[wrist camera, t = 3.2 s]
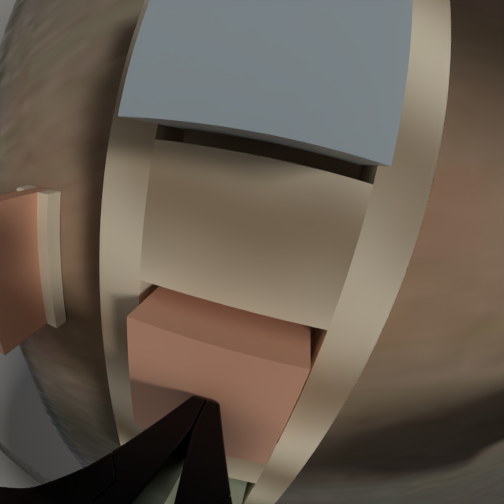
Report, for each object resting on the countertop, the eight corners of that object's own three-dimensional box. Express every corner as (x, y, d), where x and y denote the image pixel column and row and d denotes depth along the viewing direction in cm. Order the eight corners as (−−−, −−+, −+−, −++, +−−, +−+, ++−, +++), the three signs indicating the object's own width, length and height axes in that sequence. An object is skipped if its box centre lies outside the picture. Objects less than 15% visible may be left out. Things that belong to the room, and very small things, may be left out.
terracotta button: (274, 409, 11) (265, 464, 9) (163, 377, 12) (134, 423, 9) (310, 313, 10) (310, 369, 7) (170, 276, 10) (127, 316, 7)
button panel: (265, 480, 17) (257, 523, 13) (151, 447, 18) (131, 485, 14) (412, 35, 8) (449, -6, 4) (202, -2, 9) (166, -49, 5)
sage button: (233, 505, 14) (223, 541, 11) (159, 483, 14) (143, 516, 11) (248, 477, 12) (237, 523, 9) (156, 449, 12) (135, 490, 10)
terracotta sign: (66, 321, 15) (14, 362, 11) (36, 305, 16) (-14, 339, 11) (60, 191, 13) (-14, 210, 8) (29, 185, 13) (-39, 201, 8)
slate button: (358, 164, 7) (390, 166, 4) (177, 127, 8) (117, 116, 5) (383, 9, 6) (412, -44, 3) (216, -17, 6) (182, -70, 3)
